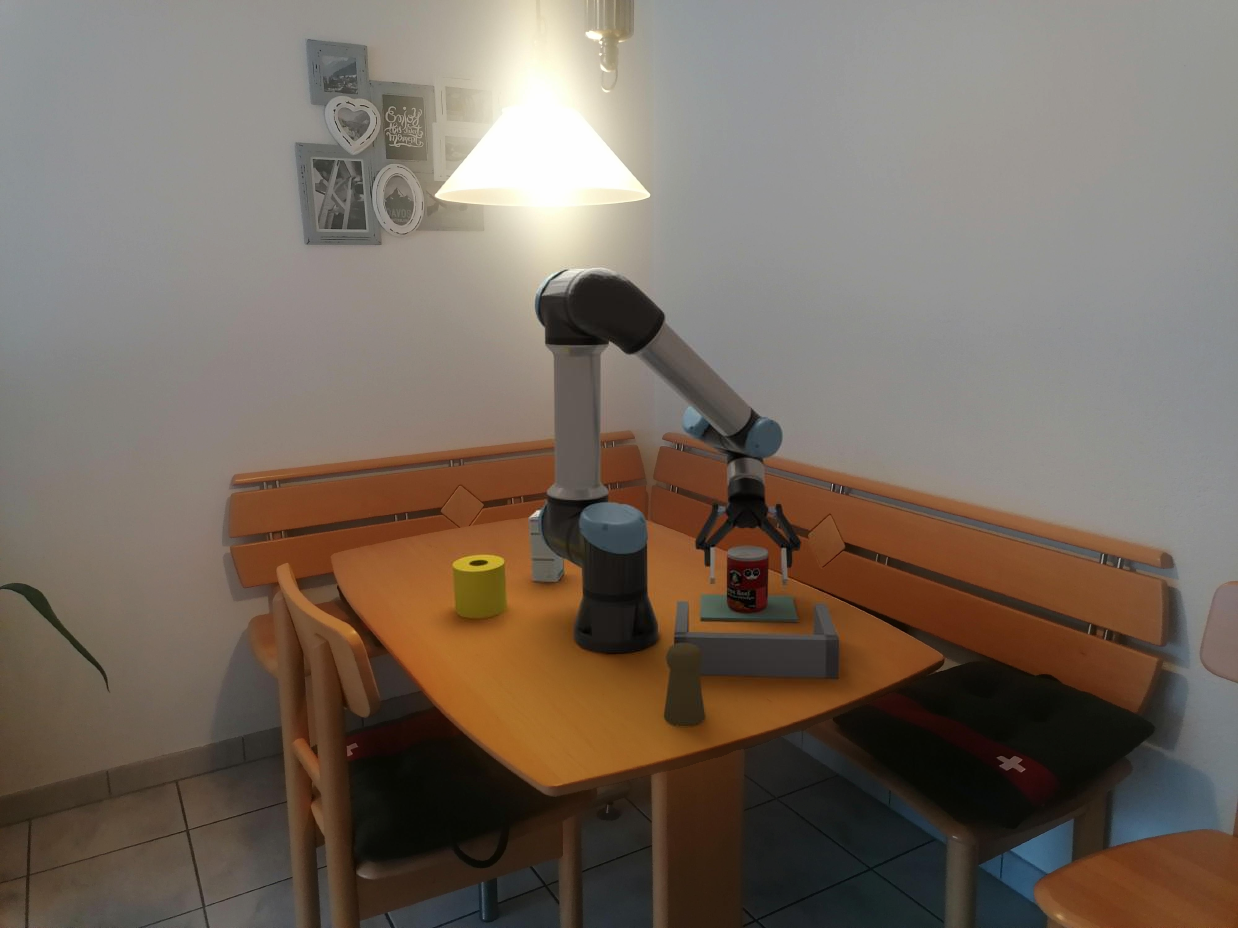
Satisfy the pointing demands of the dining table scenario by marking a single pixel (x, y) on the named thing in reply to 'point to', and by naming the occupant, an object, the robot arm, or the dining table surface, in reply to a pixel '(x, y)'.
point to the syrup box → (543, 555)
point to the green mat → (775, 611)
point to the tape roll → (479, 586)
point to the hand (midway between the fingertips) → (748, 581)
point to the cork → (684, 686)
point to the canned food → (747, 578)
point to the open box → (765, 649)
